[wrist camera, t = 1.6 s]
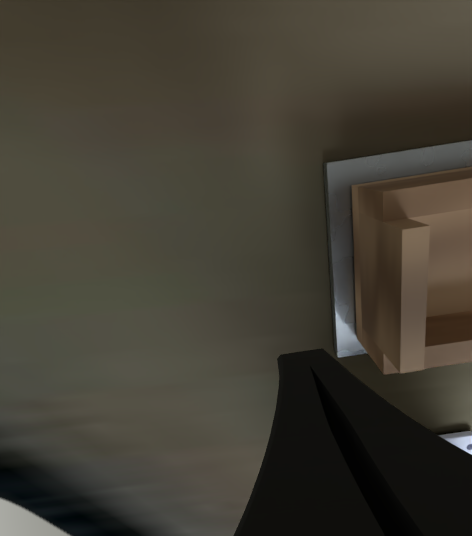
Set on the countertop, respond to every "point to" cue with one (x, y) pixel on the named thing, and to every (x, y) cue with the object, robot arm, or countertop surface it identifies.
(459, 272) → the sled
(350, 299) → the track
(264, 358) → the countertop surface
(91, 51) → the countertop surface
